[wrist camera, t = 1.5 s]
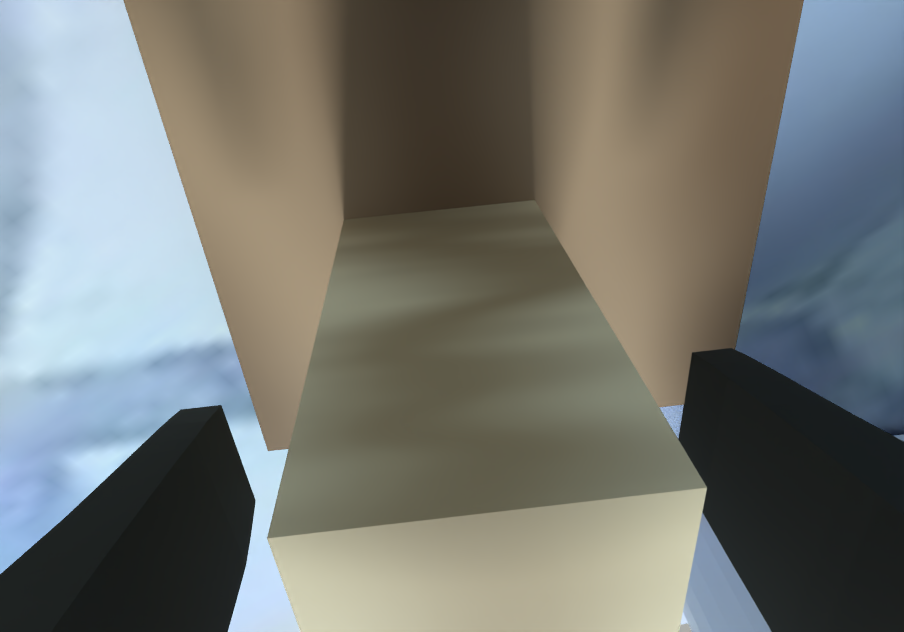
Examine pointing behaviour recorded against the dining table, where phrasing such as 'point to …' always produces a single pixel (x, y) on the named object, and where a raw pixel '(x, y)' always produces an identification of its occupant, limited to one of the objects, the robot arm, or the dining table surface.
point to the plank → (474, 151)
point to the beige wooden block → (478, 444)
